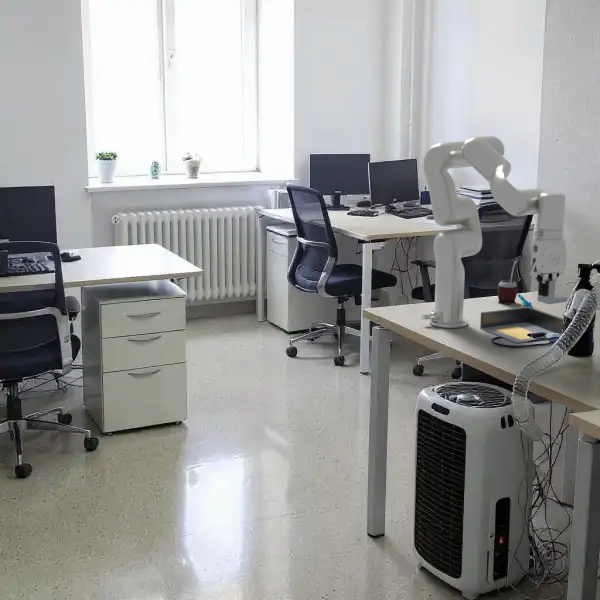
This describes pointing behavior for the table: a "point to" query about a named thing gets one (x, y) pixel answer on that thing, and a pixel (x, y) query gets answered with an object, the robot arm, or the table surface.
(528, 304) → the blue toy cog wheel
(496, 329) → the tray
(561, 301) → the bracket
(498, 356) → the table surface
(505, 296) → the mate gourd
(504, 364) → the table surface
